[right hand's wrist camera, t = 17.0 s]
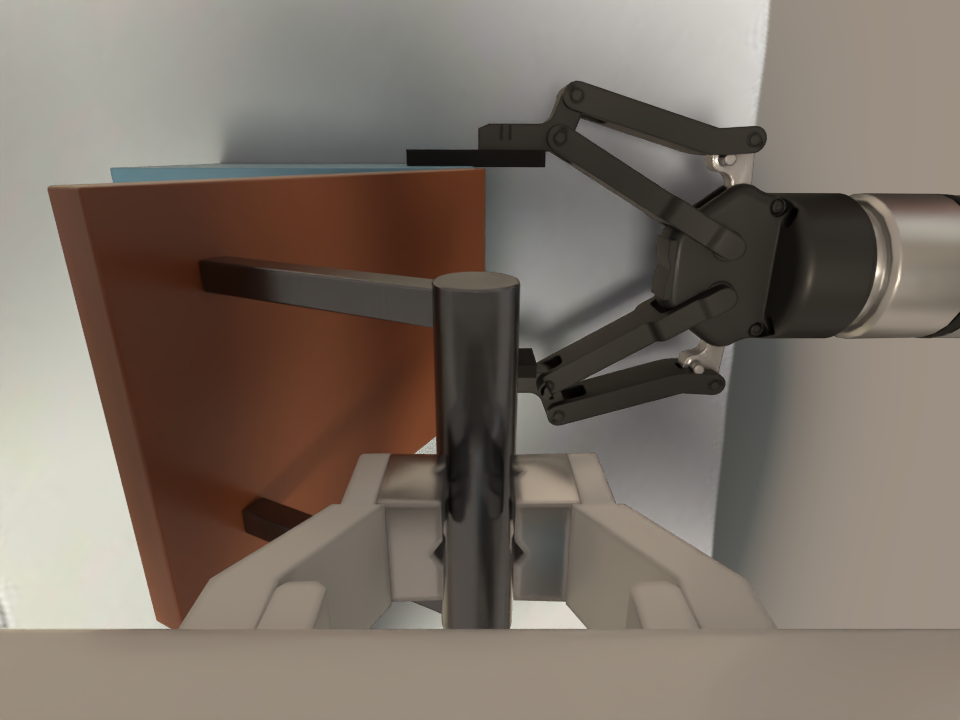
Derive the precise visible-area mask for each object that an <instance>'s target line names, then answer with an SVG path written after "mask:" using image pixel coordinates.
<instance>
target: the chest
mask: <svg viewBox="0 0 960 720" xmlns="http://www.w3.org/2000/svg"><path fill="white" fill-rule="evenodd" d="M453 168H474V167H473V166H407V163H219V164H199V165H173V166H147V167H121V168H111V169H110V170H111V175H112V179H113V183H124V182H148V181H171V180H195V179H218V178H242V177H265V176H289V175H312V174H336V173H359V172H383V171H406V170H430V169H453Z"/></svg>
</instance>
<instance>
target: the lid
mask: <svg viewBox="0 0 960 720" xmlns="http://www.w3.org/2000/svg"><path fill="white" fill-rule="evenodd" d="M48 193H49V197H50V201H51V205H52V209H53V213H54V217H55V221H56V225H57V229H58V233H59V237H60V241H61V245H62V249H63V253H64V257H65V261H66V265H67V268H68V272H69V276H70V280H71V284H72V288H73V292H74V296H75V300H76V304H77V308H78V312H79V316H80V320H81V324H82V328H83V332H84V336H85V340H86V344H87V347H88V351H89V355H90V359H91V363H92V367H93V371H94V375H95V379H96V383H97V387H98V391H99V395H100V399H101V403H102V407H103V411H104V415H105V419H106V422H107V426H108V430H109V434H110V438H111V442H112V446H113V450H114V454H115V458H116V462H117V466H118V470H119V474H120V478H121V482H122V486H123V490H124V494H125V498H126V501H127V505H128V509H129V513H130V517H131V521H132V525H133V529H134V533H135V537H136V541H137V545H138V549H139V553H140V557H141V561H142V565H143V569H144V573H145V576H146V580H147V584H148V588H149V592H150V596H151V600H152V604H153V608H154V612H155V616H156V620H157V621H158V622H160V623H162V624H164V625H165V626H167V627H169V628H171V629H178V628H179V627H180V625H181V623H182V622H183V620H184V619H185V617H186V616H187V614H188V613H189V611H190V609H191V608H192V606H193V605H194V603H195V602H196V600H197V598H198V597H199V595H200V594H201V592H202V591H203V589H204V588H205V586H206V584H207V583H208V581H209V580H210V579H211V578H212V577H214V576H216V575H217V574H219V573H220V572H222V571H224V570H225V569H227V568H229V567H230V566H232V565H234V564H235V563H237V562H238V561H240V560H242V559H243V558H245V557H247V556H248V555H250V554H252V553H253V552H255V551H256V550H258V549H260V548H261V547H263V546H265V545H266V544H268V543H270V542H271V541H273V540H274V539H276V538H278V537H279V536H281V535H283V534H284V533H286V532H287V531H289V530H291V529H292V528H294V527H296V526H297V525H299V524H301V523H302V522H304V521H305V520H307V519H309V518H310V517H312V516H314V515H315V514H317V513H319V512H320V511H322V510H323V509H325V508H327V507H328V506H330V505H332V504H341V502H342V499H343V497H344V494H345V492H346V489H347V487H348V484H349V482H350V479H351V477H352V474H353V472H354V469H355V467H356V464H357V462H358V459H359V457H360V456H361V455H362V454H369V453H390V454H414V453H416V452H417V451H418V450H419V449H421V448H422V447H423V446H424V445H426V444H427V443H428V442H429V441H431V440H432V439H433V438H434V437H436V447H437V454H440V455H447V457H448V489H447V497H448V498H449V541H448V553H447V554H446V579H445V590H444V600H430V601H412V602H415V603H417V604H420V605H422V606H425V607H427V608H429V609H432V610H434V611H437V612H439V613H441V615H442V625H443V628H444V629H510V626H511V622H512V589H513V588H512V576H511V553H510V549H509V532H508V514H509V498H510V484H509V462H510V455H516V429H517V390H518V350H519V310H520V282H519V280H518V279H517V278H515V277H513V276H510V275H506V274H502V273H494V272H485V169H484V168H453V169H430V170H406V171H383V172H359V173H336V174H312V175H289V176H265V177H242V178H218V179H195V180H171V181H148V182H124V183H101V184H77V185H54V186H49V187H48Z"/></svg>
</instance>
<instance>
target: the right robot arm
mask: <svg viewBox="0 0 960 720" xmlns="http://www.w3.org/2000/svg"><path fill="white" fill-rule="evenodd" d="M509 484H510V498H509V514H508V532H509V549H510V553H511V576H512V588H513V599H514V600H526V601H562V602H566V605H567V606H568V607H569V608H570V609H571V610H572V612H573V613H574V614H575V615H576V616H577V617H578V618H579V620H580V621H581V622H582V623H583V624H584V625H585V626H586V628H587V629H370V628H371V627H372V626H373V624H374V623H375V622H376V621H377V620H378V619H379V618H380V617H381V615H382V614H383V613H384V612H385V611H386V610H387V609H388V607H389V606H390V605H391V602H395V601H430V600H444V590H445V579H446V554H447V553H448V541H449V498H448V497H447V489H448V457H447V455H440V454H390V453H369V454H362V455H361V456H360V457H359V459H358V462H357V464H356V467H355V469H354V472H353V474H352V477H351V479H350V482H349V484H348V487H347V489H346V492H345V494H344V497H343V499H342V502H341V504H332V505H330V506H328V507H327V508H325V509H323V510H322V511H320V512H319V513H317V514H315V515H314V516H312V517H310V518H309V519H307V520H305V521H304V522H302V523H301V524H299V525H297V526H296V527H294V528H292V529H291V530H289V531H287V532H286V533H284V534H283V535H281V536H279V537H278V538H276V539H274V540H273V541H271V542H270V543H268V544H266V545H265V546H263V547H261V548H260V549H258V550H256V551H255V552H253V553H252V554H250V555H248V556H247V557H245V558H243V559H242V560H240V561H238V562H237V563H235V564H234V565H232V566H230V567H229V568H227V569H225V570H224V571H222V572H220V573H219V574H217V575H216V576H214V577H212V578H211V579H210V580H209V581H208V583H207V584H206V586H205V588H204V589H203V591H202V592H201V594H200V595H199V597H198V598H197V600H196V602H195V603H194V605H193V606H192V608H191V609H190V611H189V613H188V614H187V616H186V617H185V619H184V620H183V622H182V623H181V625H180V627H179V628H178V629H0V720H960V629H777V627H776V625H775V624H774V622H773V621H772V619H771V618H770V616H769V614H768V613H767V611H766V609H765V608H764V606H763V605H762V603H761V601H760V600H759V598H758V597H757V595H756V593H755V592H754V590H753V589H752V587H751V586H750V584H749V582H748V581H747V579H745V578H743V577H742V576H740V575H738V574H737V573H735V572H734V571H732V570H730V569H729V568H727V567H725V566H724V565H722V564H721V563H719V562H717V561H716V560H714V559H713V558H711V557H709V556H708V555H706V554H704V553H703V552H701V551H700V550H698V549H696V548H695V547H693V546H692V545H690V544H688V543H687V542H685V541H683V540H682V539H680V538H679V537H677V536H675V535H674V534H672V533H671V532H669V531H667V530H666V529H664V528H662V527H661V526H659V525H658V524H656V523H654V522H653V521H651V520H650V519H648V518H646V517H645V516H643V515H641V514H640V513H638V512H637V511H635V510H633V509H632V508H630V507H628V506H627V505H625V504H616V502H615V500H614V497H613V495H612V492H611V489H610V487H609V484H608V482H607V479H606V477H605V474H604V472H603V469H602V467H601V464H600V462H599V459H598V457H597V455H596V454H594V453H579V454H529V455H510V462H509Z"/></svg>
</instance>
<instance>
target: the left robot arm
mask: <svg viewBox="0 0 960 720" xmlns="http://www.w3.org/2000/svg"><path fill="white" fill-rule="evenodd" d="M580 118H582V119H585V120H588V121H591V122H594V123H597V124H600V125H603V126H606V127H609V128H612V129H615V130H618V131H621V132H624V133H627V134H630V135H633V136H636V137H639V138H642V139H645V140H648V141H651V142H654V143H657V144H660V145H663V146H666V147H669V148H672V149H675V150H678V151H681V152H685V153H689V154H696V155H705V164H706V167H707V168H708V169H709V170H711V171H714V172H718V173H719V174H721V175H722V177H723V179H724V185H723V186H721V187H719V188H718V189H716V190H715V191H713V192H712V193H711V194H709V195H708V196H706V197H705V198H703V199H702V200H700V201H699V202H697V203H696V204H694V205H693V206H691V205H690V204H688V203H687V202H685V201H684V200H682V199H680V198H678V197H676V196H674V195H672V194H671V193H669V192H668V191H666V190H665V189H663V188H662V187H660V186H658V185H657V184H655V183H654V182H652V181H651V180H649V179H648V178H646V177H645V176H643V175H642V174H640V173H639V172H637V171H636V170H634V169H633V168H631V167H629V166H628V165H626V164H625V163H623V162H622V161H620V160H619V159H617V158H616V157H614V156H613V155H611V154H610V153H608V152H607V151H605V150H604V149H602V148H600V147H599V146H597V145H596V144H594V143H593V142H591V141H590V140H588V139H587V138H585V137H584V136H582V135H581V134H579V133H578V132H576V131H575V129H576V127H577V124H578V122H579V119H580ZM766 140H767V135H766V132H765V130H764V129H763V128H761V127H759V126H748V127H732V128H717V127H714V126H711V125H708V124H705V123H702V122H699V121H696V120H694V119H691V118H688V117H685V116H682V115H679V114H676V113H673V112H670V111H667V110H664V109H661V108H658V107H655V106H652V105H649V104H646V103H643V102H641V101H638V100H635V99H632V98H629V97H626V96H623V95H620V94H617V93H614V92H611V91H608V90H605V89H602V88H599V87H596V86H593V85H590V84H587V83H585V82H582V81H574V82H571V83H570V84H568V85H567V86H565V87H564V88H563V89H562V90H560V91H559V93H558V95H557V99H556V102H555V105H554V108H553V110H552V113H551V115H550V117H549V119H548V120H547V121H546V122H544V123H543V124H488V125H485V126H483V127H481V128H479V129H478V150H406V154H407V166H473V167H545V153H546V151H549V152H551V153H553V154H554V155H556V156H557V157H559V158H560V159H562V160H563V161H565V162H567V163H568V164H570V165H571V166H573V167H574V168H576V169H578V170H579V171H581V172H582V173H584V174H585V175H587V176H588V177H590V178H592V179H593V180H595V181H596V182H598V183H599V184H601V185H602V186H604V187H606V188H607V189H609V190H610V191H612V192H613V193H615V194H617V195H618V196H620V197H621V198H623V199H624V200H626V201H627V202H629V203H631V204H632V205H634V206H635V207H637V208H638V209H640V210H642V211H643V212H644V213H646V214H647V215H648V216H650V217H651V218H653V219H654V220H656V221H658V222H659V223H661V224H662V225H664V226H665V228H664V230H663V232H662V234H661V235H658V237H657V246H656V251H657V257H658V266H657V269H656V271H655V274H654V277H653V282H652V292H653V293H654V294H655V296H654V297H652V298H650V299H648V300H646V301H645V302H643V303H641V304H639V305H638V306H637V307H636V309H635V310H634V311H632V312H631V313H629V314H627V315H625V316H623V317H621V318H619V319H618V320H616V321H614V322H612V323H610V324H608V325H606V326H604V327H603V328H601V329H599V330H597V331H595V332H593V333H591V334H589V335H588V336H586V337H584V338H582V339H580V340H578V341H576V342H574V343H573V344H571V345H569V346H567V347H565V348H563V349H561V350H559V351H558V352H556V353H554V354H552V355H550V356H548V357H546V358H545V359H543V360H541V361H539V362H537V363H536V360H535V357H534V354H533V351H532V348H519V350H518V390H517V393H533V394H536V395H537V396H539V397H540V399H541V401H542V403H543V406H544V409H545V412H546V414H547V418H548V420H549V422H550V423H551V424H553V425H556V426H557V425H563V424H567V423H571V422H575V421H579V420H582V419H586V418H590V417H594V416H598V415H601V414H605V413H609V412H613V411H617V410H620V409H624V408H628V407H632V406H636V405H639V404H643V403H647V402H651V401H655V400H658V399H662V398H666V397H670V396H674V395H677V394H681V393H687V394H705V395H716V394H718V393H720V392H721V391H722V390H723V389H724V387H725V380H724V378H723V377H722V376H721V375H720V374H719V369H720V365H721V360H722V356H723V352H724V347H725V346H727V345H730V344H732V343H734V342H736V341H738V340H741V339H745V338H828V337H832V336H835V337H838V338H845V339H855V338H908V337H915V338H960V195H957V196H955V195H947V194H873V193H863V194H853V195H851V196H847V195H845V194H840V193H765V192H763V191H761V190H759V189H758V188H756V187H755V186H753V185H751V184H752V174H753V164H754V155H755V153H756V152H758V151H760V150H761V149H762V148H763V147H764V145H765V143H766ZM688 329H689V330H690V331H692V332H693V333H694V334H695V335H697V336H698V337H699V338H701V341H700V343H699V345H698V346H697V347H695V348H693V349H690V350H686V351H682V352H681V353H680V354H679V358H670V359H662V360H657V361H653V362H650V363H646V364H642V365H639V366H635V367H631V368H627V369H624V370H620V371H616V372H613V373H609V374H605V375H601V376H598V377H594V378H590V379H587V380H583V379H585V378H587V377H589V376H591V375H592V374H594V373H596V372H598V371H600V370H602V369H604V368H606V367H608V366H610V365H612V364H614V363H616V362H617V361H619V360H621V359H623V358H625V357H627V356H629V355H631V354H633V353H635V352H637V351H639V350H641V349H642V348H644V347H646V346H648V345H650V344H652V343H654V342H657V341H666V340H668V339H670V338H672V337H674V336H676V335H678V334H680V333H682V332H684V331H686V330H688ZM581 380H583V381H581Z"/></svg>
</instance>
